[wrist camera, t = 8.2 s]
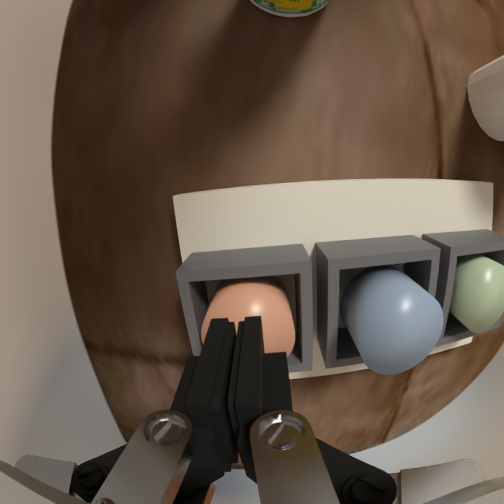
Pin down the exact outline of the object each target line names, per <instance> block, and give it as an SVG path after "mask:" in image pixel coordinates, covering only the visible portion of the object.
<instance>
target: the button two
mask: <svg viewBox="0 0 504 504" xmlns="http://www.w3.org/2000/svg"><path fill="white" fill-rule="evenodd" d="M340 307H341V316H342V319H343V321H344V323H345V325H346V327H347V329H348V331H349V333H350V335H351V337H352V339H353V341H354V343H355V345H356V347H357V349H358V351H359V353H360V355H361V357H362V359H363V361H364V363H365V365H366V366H367V367H368V368H369V369H370V370H372V371H373V372H376V373H378V374H383V375H392V374H398V373H401V372H404V371H407V370H409V369H411V368H412V367H414V366H416V365H417V364H418V363H420V362H421V361H422V360H423V359H424V358H426V357H427V355H428V354H429V353H430V352H431V351H432V349H433V348H434V347H435V345H436V343H437V341H438V340H439V337H440V335H441V332H442V328H443V319H444V318H443V311H442V308H441V306H440V304H439V302H438V301H437V300H436V299H435V298H434V297H433V296H432V295H430V294H429V293H428V292H427V291H426V290H424V289H423V288H422V287H421V286H419V285H418V284H417V283H416V282H414V281H413V280H412V279H411V278H409V277H408V276H407V275H406V274H404V273H403V272H402V271H401V270H399V269H398V268H396V267H394V266H391V265H380V266H371V267H369V268H367V269H365V270H363V271H361V272H360V273H359V274H357V275H356V276H355V277H354V278H353V279H352V280H351V281H350V283H349V284H348V286H347V287H346V289H345V291H344V293H343V296H342V299H341V306H340Z"/></svg>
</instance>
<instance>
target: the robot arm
mask: <svg viewBox="0 0 504 504" xmlns="http://www.w3.org/2000/svg"><path fill="white" fill-rule="evenodd" d="M238 453H239V454H240V457H241V461H242V463H243V465H244V469H245V472H246V475H247V476H248V477H249V478H250V479H251V480H253V481H254V482H255V483H257V485H258V490H259V496H260V502H261V504H504V477H500V478H495V479H491V480H487V481H485V477H484V472H483V470H482V467H481V465H480V464H478V463H477V462H476V461H474V460H471V459H462V460H457V461H452V462H448V463H443V464H437V465H432V466H426V467H419V468H412V469H404V470H401V471H400V472H399V473H391V474H388V473H386V472H385V471H383V470H381V469H379V468H376V467H374V466H372V465H369V464H367V463H365V462H363V461H360V460H358V459H356V458H354V457H352V456H350V455H348V454H346V453H344V452H342V451H340V450H338V449H336V448H334V447H332V446H330V445H328V444H326V443H325V442H323V441H321V440H319V439H317V438H315V436H314V433H313V430H312V428H311V425H310V423H309V422H308V420H307V419H306V418H305V417H304V416H302V415H301V414H299V413H296V412H294V411H293V410H292V400H291V390H290V381H289V372H288V363H287V354H286V352H274V353H265V350H264V340H263V329H262V319H261V316H250V317H245V318H244V321H239V322H238V329H237V335H236V328H235V323H234V322H229V320H228V318H213V319H211V321H210V324H209V327H208V330H207V334H206V337H205V340H204V343H203V347H202V350H201V353H200V356H189V358H188V360H187V363H186V366H185V369H184V371H183V374H182V377H181V380H180V383H179V386H178V388H177V391H176V394H175V397H174V400H173V403H172V406H171V409H170V410H161V411H157V412H154V413H152V414H150V415H149V416H147V417H146V418H145V419H144V420H143V421H142V422H141V423H140V425H139V427H138V428H137V430H136V431H135V433H134V435H133V436H132V438H131V439H130V441H129V443H128V444H125V445H123V446H121V447H119V448H117V449H114V450H112V451H110V452H108V453H105V454H103V455H101V456H98V457H96V458H93V459H91V460H89V461H86V462H84V463H82V464H80V465H77V464H76V463H75V462H69V461H62V460H56V459H50V458H44V457H39V456H34V455H25V456H23V457H21V458H20V459H19V460H18V461H17V462H16V464H15V467H13V466H11V465H10V464H8V463H6V462H3V461H1V460H0V504H210V502H211V499H212V497H213V494H214V491H215V488H216V480H218V479H219V478H221V477H222V476H224V473H225V472H231V464H232V463H237V462H238Z"/></svg>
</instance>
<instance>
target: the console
mask: <svg viewBox="0 0 504 504" xmlns="http://www.w3.org/2000/svg"><path fill="white" fill-rule="evenodd" d="M173 202H174V210H175V217H176V224H177V231H178V238H179V244H180V251H181V257H182V265H181V266H180V267H179V268H178V269H177V270H176V277H177V282H178V288H179V293H180V298H181V302H182V307H183V312H184V317H185V321H186V326H187V330H188V335H189V339H190V343H191V347H192V351H193V355H194V356H200V353H201V350H202V347H203V343H202V338H201V329H202V324H203V322H204V319H205V316H206V314H207V311H208V309H209V306H210V303H211V301H212V298H213V296H214V293H215V291H216V288H217V286H218V284H219V283H220V282H221V280H222V279H235V278H249V277H262V276H274V275H275V276H276V277H277V278H278V279H279V280H280V281H281V282H282V283H283V285H284V286H285V288H286V290H287V293H288V297H289V303H290V308H291V313H292V318H293V324H294V329H295V343H294V347H293V349H292V351H291V353H290V355H289V356H288V357H287V363H288V372H289V379H297V378H307V377H315V376H323V375H331V374H338V373H345V372H351V371H357V370H363V369H368V367H367V366H366V365H365V363H364V361H363V359H362V357H361V355H360V353H359V351H358V349H357V347H356V345H355V343H354V341H353V339H352V337H351V335H350V333H349V331H348V329H347V327H346V325H345V323H344V321H343V319H342V316H341V307H340V306H341V299H342V296H343V293H344V291H345V289H346V287H347V286H348V284H349V283H350V281H351V280H352V279H353V278H354V277H355V276H356V275H357V274H359V273H360V272H361V271H363V270H365V269H367V268H369V267H371V266H380V265H391V266H394V267H396V268H398V269H399V270H401V271H402V272H403V273H404V274H406V275H407V276H408V277H409V278H411V279H412V280H413V281H414V282H416V283H417V284H418V285H419V286H421V287H422V288H423V289H424V290H426V291H427V292H428V293H429V294H430V295H432V296H433V297H434V298H435V299H436V300H437V301H438V302H439V304H440V306H441V308H442V311H443V318H444V319H443V328H442V332H441V335H440V337H439V340H438V341H437V343H436V345H435V347H434V348H433V349H432V351H431V352H430V353H429V354H428V355H430V354H434V353H438V352H441V351H445V350H448V349H451V348H455V347H458V346H461V345H464V344H467V343H470V342H471V341H472V337H473V336H475V335H478V334H481V333H483V332H486V331H489V330H492V329H495V328H497V327H499V323H500V320H501V316H502V315H501V316H500V318H499V319H498V320H497V322H496V323H495V324H494V325H493V326H491V327H490V328H489V329H487V330H486V331H483V332H480V333H474V332H471V331H470V330H469V329H468V328H467V327H466V326H464V325H463V324H462V323H461V322H460V321H459V320H458V319H457V318H456V317H454V316H453V315H452V314H451V313H450V312H449V308H450V303H451V297H452V291H453V285H454V278H455V271H456V263H457V256H463V255H471V254H478V253H479V254H481V255H483V256H485V257H487V258H489V259H491V260H493V261H495V262H497V263H499V264H501V265H503V266H504V235H501V234H499V233H496V232H493V231H492V219H493V183H491V182H483V181H470V180H448V179H347V180H324V181H306V182H290V183H277V184H265V185H253V186H243V187H233V188H224V189H215V190H207V191H198V192H191V193H183V194H178V195H175V196H173Z"/></svg>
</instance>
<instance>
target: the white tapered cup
mask: <svg viewBox="0 0 504 504" xmlns="http://www.w3.org/2000/svg"><path fill="white" fill-rule="evenodd" d="M467 90H468V100H469V103H470V106H471V109H472V112H473V115H474V117H475V118H476V120H477V122H478V124H479V126H480V127H481V128H482V129H483V131H484V132H485V133H486V134H487V135H488V136H489V137H491V138H493V139H495V140H497V141H504V55H503V56H501V57H500V58H498V59H496V60H494V61H492V62H490V63H489V64H487V65H485V66H483V67H481V68H480V69H478V70H476V71H475V72H474V73H472V74H471V75H470V76H469V80H468V84H467Z"/></svg>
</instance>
